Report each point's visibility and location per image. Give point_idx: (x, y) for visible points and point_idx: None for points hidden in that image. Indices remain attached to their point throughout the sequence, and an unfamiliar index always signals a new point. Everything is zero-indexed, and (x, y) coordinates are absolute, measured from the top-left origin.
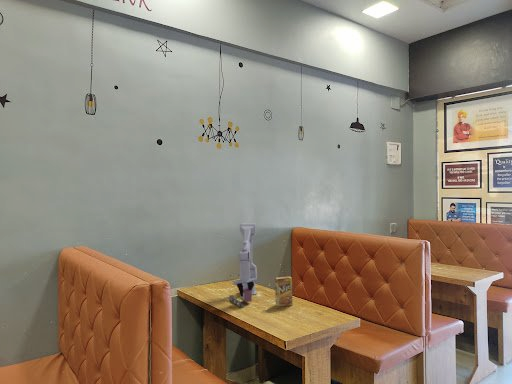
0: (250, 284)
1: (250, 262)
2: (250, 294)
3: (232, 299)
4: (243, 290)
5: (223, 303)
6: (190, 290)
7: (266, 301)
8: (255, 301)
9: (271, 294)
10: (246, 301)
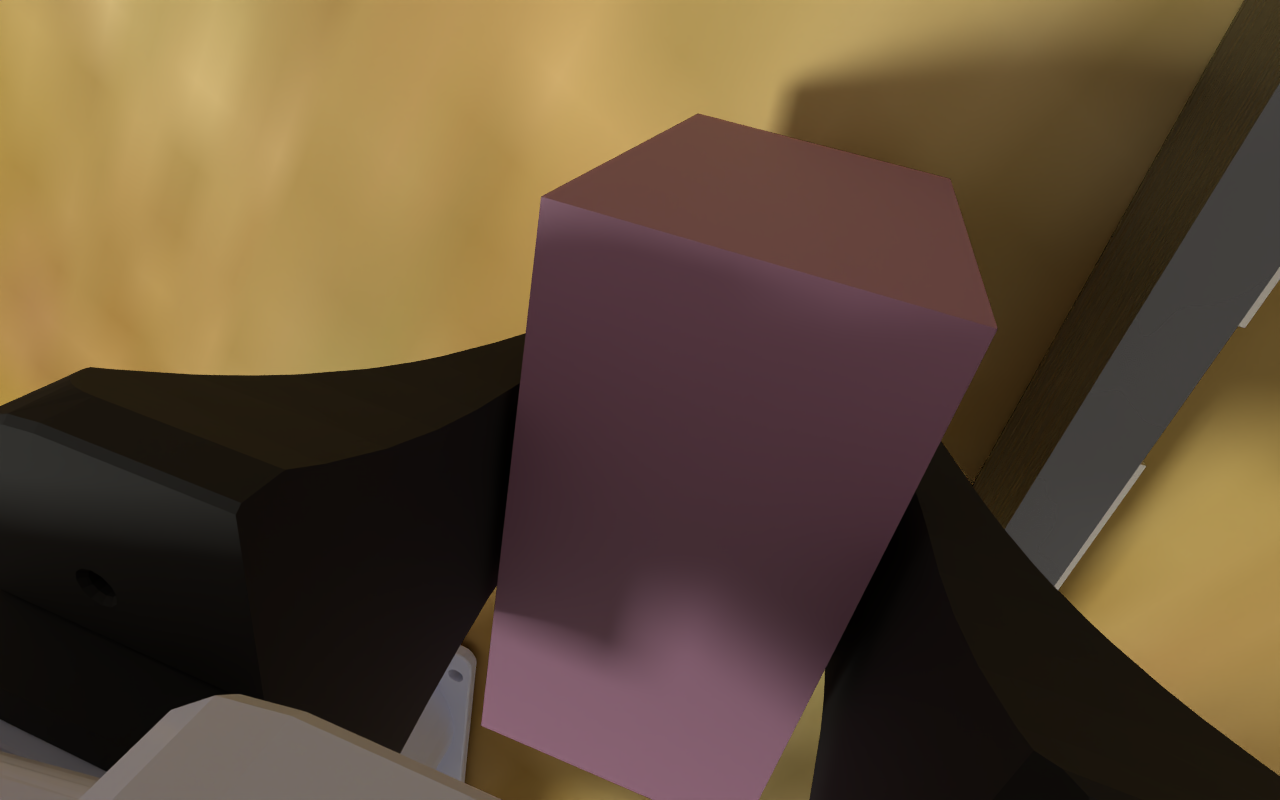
0: (285, 526)
1: None
2: (665, 171)
3: None
4: (868, 542)
5: (1235, 699)
6: None
7: (269, 15)
8: (504, 232)
9: (57, 367)
10: (893, 167)
